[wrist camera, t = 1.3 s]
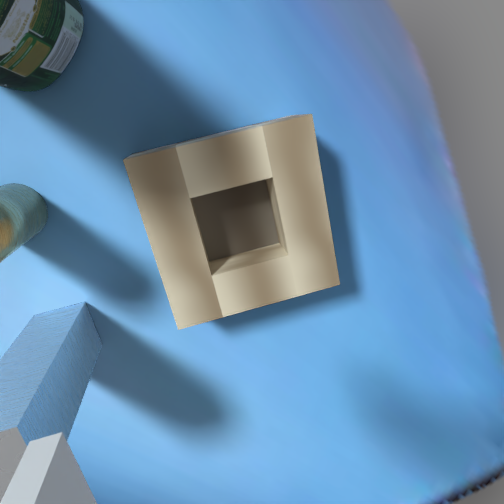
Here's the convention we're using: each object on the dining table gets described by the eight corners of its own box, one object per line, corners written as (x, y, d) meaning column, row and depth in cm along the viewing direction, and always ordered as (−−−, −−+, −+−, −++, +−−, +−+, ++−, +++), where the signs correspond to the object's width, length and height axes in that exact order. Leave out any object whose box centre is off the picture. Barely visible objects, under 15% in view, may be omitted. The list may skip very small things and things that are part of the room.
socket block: (178, 300, 33) (178, 329, 29) (132, 153, 29) (123, 159, 25) (318, 262, 34) (340, 284, 30) (292, 115, 30) (311, 114, 26)
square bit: (53, 358, 33) (-33, 514, 20) (34, 315, 32) (-72, 452, 19) (102, 344, 33) (49, 489, 20) (85, 301, 32) (16, 426, 19)
